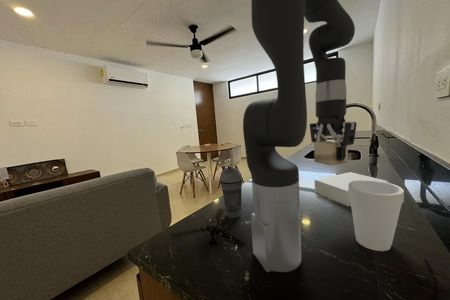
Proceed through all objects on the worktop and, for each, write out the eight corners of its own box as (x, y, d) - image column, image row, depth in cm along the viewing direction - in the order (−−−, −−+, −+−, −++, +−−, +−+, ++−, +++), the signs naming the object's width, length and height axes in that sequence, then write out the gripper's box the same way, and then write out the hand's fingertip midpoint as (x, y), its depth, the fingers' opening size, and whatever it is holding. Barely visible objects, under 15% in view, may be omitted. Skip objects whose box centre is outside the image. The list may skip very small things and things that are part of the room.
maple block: (331, 165, 52) (330, 143, 51) (314, 162, 58) (314, 142, 57) (347, 162, 54) (347, 141, 53) (330, 159, 60) (330, 140, 59)
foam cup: (347, 226, 50) (347, 178, 48) (394, 234, 45) (396, 181, 43) (349, 249, 42) (349, 192, 40) (406, 261, 37) (410, 198, 35)
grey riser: (348, 206, 60) (348, 191, 59) (314, 192, 73) (314, 179, 73) (388, 195, 65) (388, 181, 65) (350, 183, 79) (350, 172, 78)
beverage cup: (233, 207, 67) (228, 150, 64) (250, 213, 61) (245, 151, 58) (218, 215, 62) (212, 154, 59) (234, 222, 56) (229, 156, 53)
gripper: (301, 103, 59) (302, 156, 61) (343, 95, 45) (342, 165, 48) (321, 102, 61) (321, 153, 64) (366, 94, 48) (364, 160, 50)
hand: (330, 158), depth 56 cm, fingers closed on maple block, 6 cm apart
